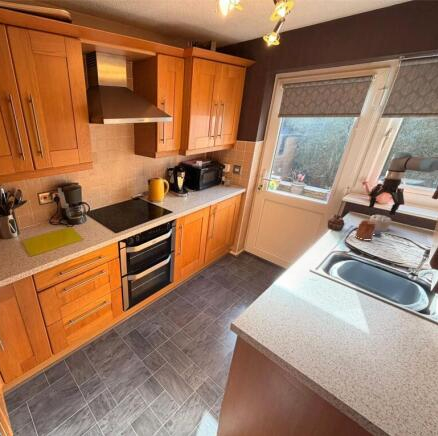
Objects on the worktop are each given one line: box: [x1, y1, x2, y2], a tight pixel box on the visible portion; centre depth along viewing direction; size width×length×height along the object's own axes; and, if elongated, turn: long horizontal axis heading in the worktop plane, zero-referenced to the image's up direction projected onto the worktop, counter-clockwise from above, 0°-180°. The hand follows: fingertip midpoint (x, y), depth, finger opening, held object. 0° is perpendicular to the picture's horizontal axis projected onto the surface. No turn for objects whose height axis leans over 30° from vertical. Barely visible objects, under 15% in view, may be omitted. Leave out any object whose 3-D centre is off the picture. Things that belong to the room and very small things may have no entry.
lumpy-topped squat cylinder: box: [369, 214, 392, 232], centre depth 162 cm, size 10×13×9 cm
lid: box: [373, 230, 382, 238], centre depth 155 cm, size 8×8×2 cm
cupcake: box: [327, 214, 346, 232], centre depth 162 cm, size 10×10×10 cm
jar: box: [354, 219, 377, 242], centre depth 147 cm, size 8×8×12 cm
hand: (380, 210), depth 149 cm, fingers open, 13 cm apart
